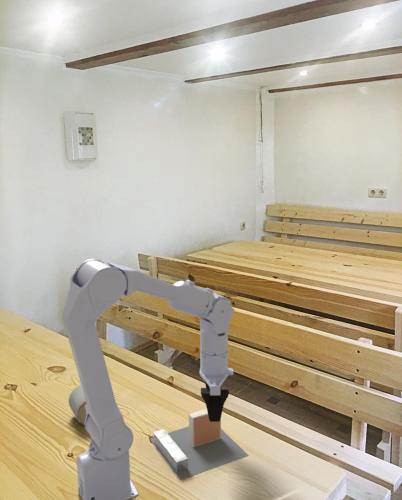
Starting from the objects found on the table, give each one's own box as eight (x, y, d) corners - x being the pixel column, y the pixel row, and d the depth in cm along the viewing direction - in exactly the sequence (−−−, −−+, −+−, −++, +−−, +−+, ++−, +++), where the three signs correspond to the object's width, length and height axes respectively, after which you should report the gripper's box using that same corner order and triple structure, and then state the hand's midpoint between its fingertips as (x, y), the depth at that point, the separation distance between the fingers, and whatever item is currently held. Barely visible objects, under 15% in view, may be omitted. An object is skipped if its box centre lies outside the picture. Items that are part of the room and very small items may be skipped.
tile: (193, 448, 99) (193, 418, 98) (189, 443, 101) (188, 414, 99) (221, 438, 102) (221, 409, 101) (216, 434, 104) (216, 405, 103)
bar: (176, 473, 91) (176, 462, 90) (153, 442, 101) (153, 432, 101) (188, 469, 92) (187, 458, 91) (164, 439, 102) (163, 429, 102)
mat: (180, 481, 89) (180, 479, 89) (149, 440, 103) (149, 438, 103) (248, 456, 96) (248, 455, 96) (211, 421, 110) (211, 419, 110)
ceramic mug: (77, 431, 106) (76, 401, 105) (68, 415, 113) (67, 386, 112) (121, 419, 112) (120, 390, 110) (110, 405, 119) (109, 377, 117)
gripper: (236, 364, 87) (235, 429, 90) (231, 337, 102) (230, 394, 104) (199, 364, 87) (199, 430, 90) (199, 337, 102) (199, 394, 104)
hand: (214, 411), depth 97 cm, fingers open, 7 cm apart
